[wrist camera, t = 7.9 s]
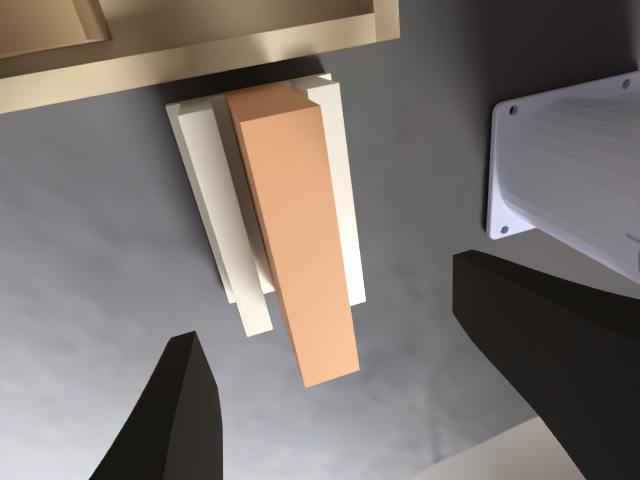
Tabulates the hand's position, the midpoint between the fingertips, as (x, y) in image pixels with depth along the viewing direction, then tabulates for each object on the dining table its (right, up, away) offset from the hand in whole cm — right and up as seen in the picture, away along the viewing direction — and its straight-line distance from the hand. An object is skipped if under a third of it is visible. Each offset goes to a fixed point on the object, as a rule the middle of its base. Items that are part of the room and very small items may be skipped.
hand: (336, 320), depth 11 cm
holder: (-3, +4, +9) cm, 10 cm away
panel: (-3, +4, +8) cm, 10 cm away
